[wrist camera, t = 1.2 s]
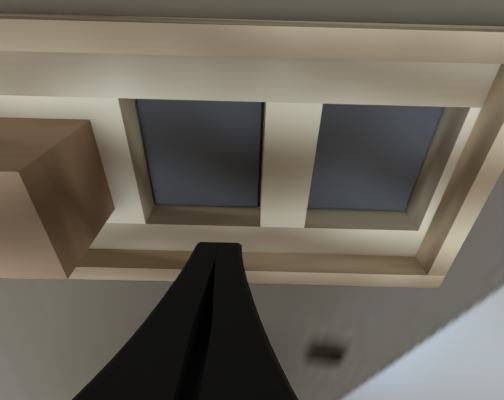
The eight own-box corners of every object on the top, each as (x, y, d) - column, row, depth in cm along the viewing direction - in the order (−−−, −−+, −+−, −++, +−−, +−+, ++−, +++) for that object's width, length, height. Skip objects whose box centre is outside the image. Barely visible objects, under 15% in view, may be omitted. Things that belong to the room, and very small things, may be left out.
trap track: (412, 246, 21) (438, 287, 18) (-60, 235, 20) (-113, 274, 18) (506, 26, 13) (576, 34, 10) (-224, 6, 13) (-360, 8, 10)
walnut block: (115, 208, 17) (67, 279, 12) (23, 206, 17) (-55, 276, 12) (89, 119, 14) (18, 172, 10) (-20, 116, 14) (-139, 167, 10)
